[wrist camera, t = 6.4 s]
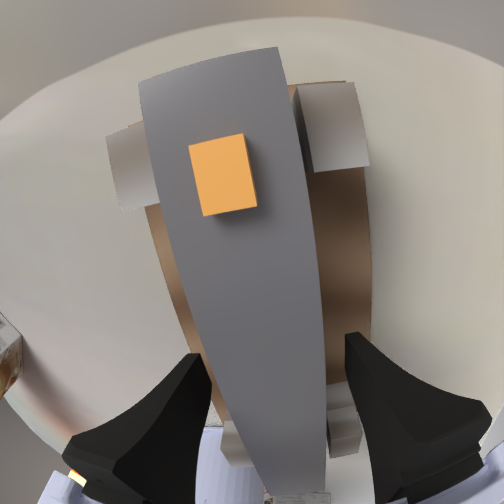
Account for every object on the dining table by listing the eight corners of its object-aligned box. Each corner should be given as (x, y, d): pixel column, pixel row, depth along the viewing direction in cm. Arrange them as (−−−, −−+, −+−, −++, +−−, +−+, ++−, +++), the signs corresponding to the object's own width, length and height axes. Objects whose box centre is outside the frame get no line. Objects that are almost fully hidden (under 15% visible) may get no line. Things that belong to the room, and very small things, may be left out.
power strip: (318, 437, 16) (325, 497, 11) (271, 442, 17) (269, 503, 12) (273, 94, 10) (278, 36, 4) (189, 112, 10) (127, 77, 5)
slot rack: (359, 402, 20) (374, 455, 14) (225, 419, 21) (217, 473, 15) (340, 85, 12) (380, 47, 7) (136, 127, 14) (73, 116, 8)
